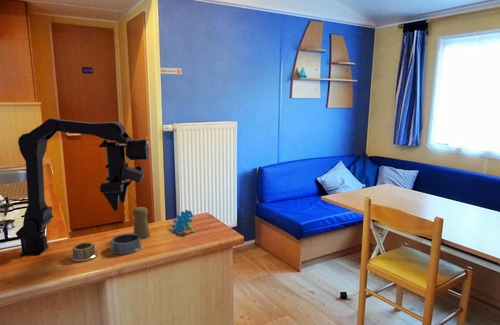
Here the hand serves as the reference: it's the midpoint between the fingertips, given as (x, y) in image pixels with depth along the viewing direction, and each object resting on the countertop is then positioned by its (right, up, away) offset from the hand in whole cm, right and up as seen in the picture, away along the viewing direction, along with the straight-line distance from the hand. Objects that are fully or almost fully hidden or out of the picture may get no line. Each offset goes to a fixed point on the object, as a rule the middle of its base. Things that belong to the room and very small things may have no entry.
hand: (119, 206), depth 117 cm
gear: (+18, -12, +18) cm, 28 cm away
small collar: (-10, -16, -5) cm, 19 cm away
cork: (+3, -13, +13) cm, 19 cm away
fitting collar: (+2, -15, +2) cm, 15 cm away
